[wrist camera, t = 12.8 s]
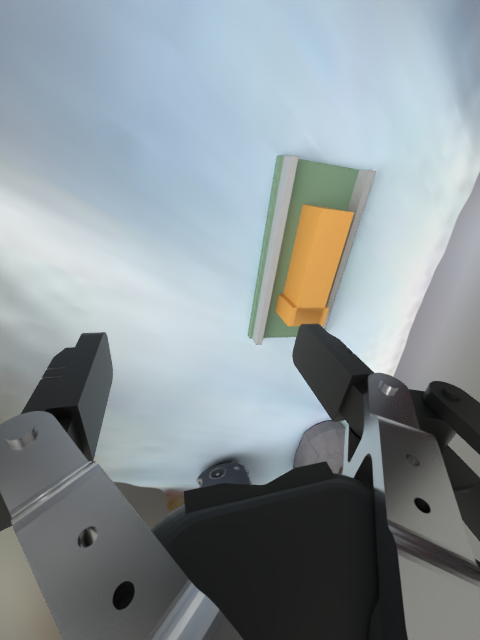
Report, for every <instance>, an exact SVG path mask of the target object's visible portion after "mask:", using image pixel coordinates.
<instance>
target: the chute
mask: <svg viewBox="0 0 480 640" xmlns="http://www.w3.org/2000/svg"><path fill="white" fill-rule="evenodd" d="M353 215H354V212H349V211H344V210H339V209H335V208H328V207H321V206H313V205H305V204H303V205H302V210H301V215H300V219H299V224H298V228H297V233H296V237H295V242H294V247H293V251H292V256H291V260H290V265H289V269H288V274H287V279H286V283H285V288H284V292H283V294H279V295H278V300H277V305H276V309H275V311H276V313H277V314H278V315H279V316H280V317H281V319H282V320H283V321H284V322H285V324H286V325H287V326H300V325H301V324H313V323H318V324H319V325H321V326H324V323H325V320H326V316H327V313H328V310H329V307H327V306H326V302H327V299H328V296H329V293H330V289H331V286H332V283H333V280H334V276H335V273H336V270H337V267H338V263H339V260H340V257H341V254H342V250H343V247H344V244H345V241H346V237H347V234H348V231H349V228H350V224H351V221H352V218H353Z"/></svg>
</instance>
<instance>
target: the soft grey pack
mask: <svg viewBox="0 0 480 640" xmlns="http://www.w3.org/2000/svg"><path fill="white" fill-rule="evenodd" d="M345 429H346V428H345V427H344V426H343V425H342V424H340V423H339V422H337V421H336V422H333V421H325V422H323V423H320V424H317V425H315V426H313V427H312V428H311V429H309V430H308V431H306V432H305V433H304V436H303V438H302V440H301V442H300V444H299V447H298V449H297V452H296V456H295V461H294V465H293V468H296V467H301V466H306V465H311V464H315V463H320V462H325V461H327V463H328V465H329V467H330V469H331V470H332V472H333V473H337V474H342V473H343V463H344V444H345Z"/></svg>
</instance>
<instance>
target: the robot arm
mask: <svg viewBox="0 0 480 640" xmlns="http://www.w3.org/2000/svg"><path fill="white" fill-rule="evenodd" d="M293 362H294V364H295V366H296V368H297V369H298V371H299V372H300V373H301V375H302V376H303V378H304V379H305V381H306V382H307V384H308V385H309V387H310V388H311V390H312V391H313V393H314V394H315V396H316V397H317V398H318V400H319V401H320V403H321V404H322V406H323V407H324V409H325V410H326V412H327V413H328V415H329V416H330V418H331V419H332V421H333V422H336V421H342V420H346V421H347V423H348V424H347V426H346V429H345V444H344V463H343V473H342V474H337V473H333V472H332V470H331V469H330V467H329V465H328V463H327V461H325V462H320V463H315V464H311V465H306V466H301V467H296V468H294V469H292V470H291V471H289V472H287V473H285V474H284V475H282V476H280V477H278V478H277V479H275V480H273V481H271V482H270V483H268V484H266V485H247V484H231V483H221V484H216V485H212V486H207V487H202V488H197V489H193V490H188V491H184V505H182V506H180V507H178V508H177V509H175V510H173V511H172V512H171V513H169V514H168V515H166V516H165V517H164V518H163V519H162V520H161V521H160V522H158V523H157V524H156V525H155V526H154V528H153V529H152V530H150V529H149V528H148V526H147V525H146V524H145V523H144V521H143V520H142V519H141V517H140V516H139V515H138V514H137V512H136V511H135V510H134V509H133V508H132V506H131V505H130V503H129V502H128V501H127V500H126V498H125V497H124V496H123V495H122V493H121V492H120V491H119V489H118V488H117V487H116V486H115V484H114V483H113V482H112V480H111V479H110V478H109V477H108V475H107V474H106V473H105V472H104V470H103V469H102V468H101V467H100V465H99V464H98V463H96V462H95V461H93V460H94V456H95V451H96V447H97V443H98V439H99V434H100V430H101V426H102V422H103V417H104V413H105V409H106V405H107V401H108V396H109V392H110V388H111V384H112V377H113V368H112V361H111V355H110V349H109V344H108V338H107V334H106V333H105V332H102V333H83V334H81V336H80V338H79V340H78V342H77V344H76V346H75V347H74V348H65V349H64V350H62V351H61V352H60V353H59V354H57V355H56V356H55V357H54V358H53V359H52V361H51V363H50V364H49V366H48V368H47V370H46V371H45V373H44V375H43V377H42V380H40V382H39V383H38V385H37V387H36V389H35V390H34V392H33V394H32V396H31V397H30V399H29V401H28V403H27V404H26V406H25V408H24V409H23V411H22V413H21V415H18V416H15V417H13V418H11V419H9V420H7V421H5V422H4V423H2V424H1V425H0V531H2V530H4V529H6V528H8V527H10V526H13V528H14V531H15V533H16V536H17V538H18V540H19V542H20V545H21V547H22V549H23V551H24V553H25V556H26V558H27V560H28V563H29V565H30V567H31V569H32V571H33V574H34V576H35V578H36V581H37V583H38V585H39V587H40V590H41V592H42V594H43V597H44V599H45V601H46V603H47V606H48V608H49V610H50V612H51V615H52V617H53V619H54V621H55V624H56V626H57V628H58V630H59V633H60V635H61V637H62V639H63V640H480V562H479V561H478V560H476V559H475V558H474V555H473V552H472V549H471V546H470V543H469V540H468V537H467V533H466V530H465V527H464V524H463V521H464V522H465V524H466V525H467V526H468V528H469V529H470V530H471V531H472V533H473V534H474V535H475V536H476V537H477V539H478V540H479V541H480V478H479V477H478V476H477V475H476V474H475V473H474V472H473V470H472V469H471V468H470V467H468V465H467V464H466V463H465V462H464V461H463V460H462V459H461V458H460V457H459V456H458V455H457V454H456V453H455V452H454V451H453V450H452V449H451V448H450V447H449V446H448V444H449V442H450V441H451V440H452V438H453V437H454V436H455V434H456V433H457V434H458V435H459V436H461V437H462V438H463V439H464V440H465V441H466V442H467V443H468V444H469V445H470V446H471V447H472V448H473V449H474V450H475V451H477V453H478V454H480V403H479V402H478V401H476V400H475V399H474V398H473V397H471V396H470V395H469V394H467V393H466V392H465V391H463V390H462V389H460V388H458V387H456V386H454V385H451V384H448V383H445V382H441V381H434V382H431V383H430V384H429V386H428V387H427V389H426V391H425V392H424V391H417V390H410V389H408V387H407V386H406V385H405V384H404V383H402V382H401V381H400V380H398V379H396V378H394V377H392V376H390V375H387V374H383V373H374V372H373V371H372V370H371V369H370V368H369V367H368V366H366V365H365V364H364V363H363V362H362V361H361V360H360V359H359V358H358V357H357V356H356V355H355V354H353V352H352V351H351V350H350V349H349V348H347V347H346V345H345V344H344V343H342V342H341V341H340V340H339V339H338V338H336V337H334V336H333V335H331V334H329V333H328V332H327V331H326V330H325V329H324V328H323V327H322V326H321V325H319V324H318V323H313V324H301V325H300V326H299V329H298V333H297V337H296V341H295V345H294V349H293ZM89 461H93V462H91V463H90V462H89ZM462 520H463V521H462Z"/></svg>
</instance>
